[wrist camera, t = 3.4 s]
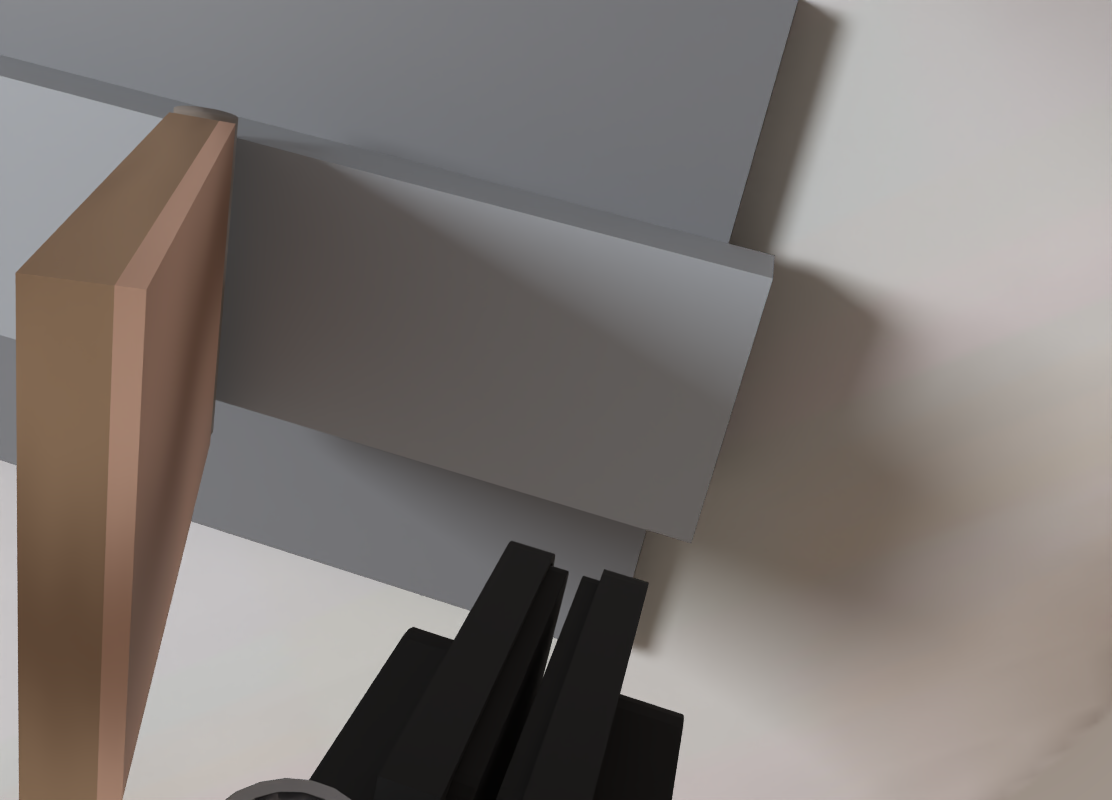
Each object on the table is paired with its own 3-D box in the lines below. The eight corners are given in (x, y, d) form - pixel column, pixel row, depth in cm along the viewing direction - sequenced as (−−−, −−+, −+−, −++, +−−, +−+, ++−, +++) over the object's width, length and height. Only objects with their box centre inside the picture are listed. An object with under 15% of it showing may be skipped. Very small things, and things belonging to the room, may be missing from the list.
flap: (241, 113, 20) (178, 102, 19) (146, 289, 10) (15, 272, 9) (216, 420, 22) (160, 414, 22) (121, 801, 12) (19, 801, 12)
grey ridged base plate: (-40, -191, 22) (-167, -227, 19) (848, 8, 19) (858, 1, 17) (-25, 430, 28) (-119, 475, 25) (653, 645, 26) (635, 723, 23)
